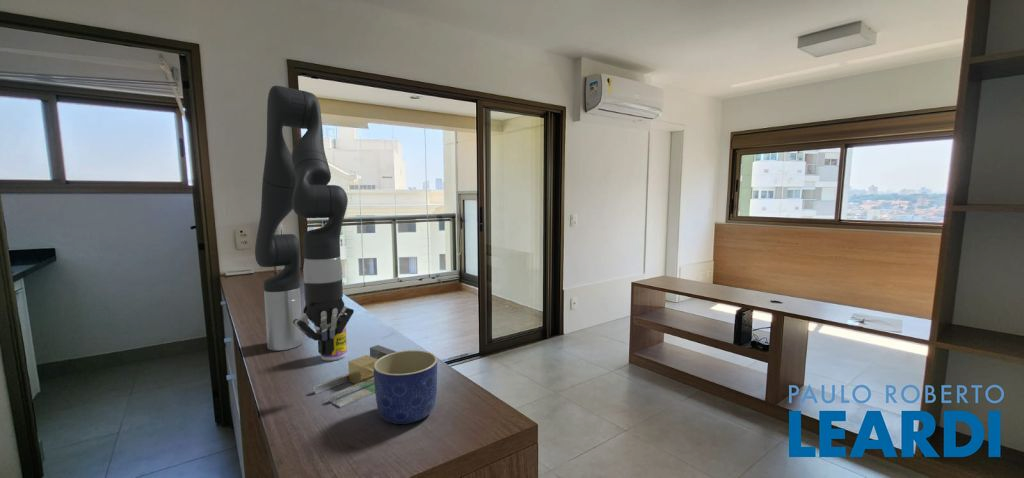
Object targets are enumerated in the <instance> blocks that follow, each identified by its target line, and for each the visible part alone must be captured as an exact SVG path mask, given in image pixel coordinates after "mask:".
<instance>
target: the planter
mask: <svg viewBox="0 0 1024 478" xmlns="http://www.w3.org/2000/svg"><path fill="white" fill-rule="evenodd" d="M373 368H374V382H375V392H374V393H375V402H376V406H377V407H376V408H377V410H378V414H379V415H380V417H381V418H382V419H384V421H387V422H388V423H391V424H396V425H406V424H412V423H415V422H418V421H421V420H423V419H424V418H426V417H427V416H428V415H430V414H431V412H432V411H433V410H434V408H435V404H436V401H437V392H438V391H437V390H438V389H437V388H438V358H437V356H436V355H435V354H434V353H431V352H430V351H429V352H428V351H425V350H416V349H414V350H413V349H411V350H410V349H409V350H401V351H400V350H399V351H396V352H395V353H391V354H388V355H385V356H383V357H381V358H379V359H378V360H377V361H376V362H375V363H374V366H373Z"/></svg>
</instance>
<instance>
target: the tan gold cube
mask: <svg viewBox="0 0 1024 478" xmlns="http://www.w3.org/2000/svg"><path fill="white" fill-rule="evenodd" d="M377 360H378V359H376V358H373V357H371V356H370V355H368V354H366V355H363V356H360V357H358V358H354V359H352V360H349V361H348V365H347V366H348V373H349V381H348V382H351V383H353V385H355V384H358V383H360V382H363V381H365V380H368V379H370V378H373V377H374V368H373V366H374V363H375V362H376V361H377Z"/></svg>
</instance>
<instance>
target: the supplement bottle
mask: <svg viewBox="0 0 1024 478" xmlns="http://www.w3.org/2000/svg"><path fill="white" fill-rule="evenodd" d="M338 317H339V316H338ZM337 319H338V318H337ZM347 340H348V339H347V325H346V326H345V328H344V329H343V331H342V333H340V334H337V335H336V336H335V337H334V351H333V352H332V355H330V356H327V357H324V356H322V355H321V354H320V358H321V360H323V361H330V362H331V361H338V360H340V359H341V360H342V359H344V358H345V357H346V356H347V354H348V346H347V345H348V342H347Z"/></svg>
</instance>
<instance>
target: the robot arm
mask: <svg viewBox="0 0 1024 478" xmlns="http://www.w3.org/2000/svg"><path fill="white" fill-rule="evenodd" d="M266 106H267V107H266V145H265V146H266V148H265V157H264V167H263V175H262V186H261V200H260V201H261V204H260V205H261V206H260V215H259V216H260V217H259V222H258V228H257V234H256V238H255V239H256V241H255V248H254V254H255V261H256V263H257V264H258V265H257V266H260V267H261V268H274V267H275V268H276V267H283V266H284V267H283V269H282V270H281V271H280V272H278V273H277V274H275V275H273V276H271V277H269V278H266V279H265V280H264V282H263V294H264V295H263V296H264V297H263V298H264V299H263V300H264V313H265V314H264V315H265V327H266V328H265V330H266V344H267V345H266V347H267V350H270V351H285V350H286V351H287V350H291V349H294V348H297V347H299V346H301V345H303V340H304V339H303V334H304V335H306V337H308V339H311V340H313V341H314V342H315V341H316V342H317V351H318V354H320V356H321V355H322V356H324V357H327V356H330V355H332V352H333V351H334V337H335V336H336V335H337V334H340V333H342V331H343V329H344V328H345V326H346V327H347V324H348V323H349V321H350V319H351V318H352V316H353V314H354V312H355V310H354V309H352V308H350V307H348V306H345V302H344V300H343V296H344V291H343V285H344V284H343V265H342V260H341V233H342V226H343V222H344V220H345V219H344V218H345V215H346V212H347V209H348V204H349V203H348V202H349V201H348V196H347V192H346V191H345V189H344V188H343V187H341V186H339V185H336V184H329V183H330V182H331V178H332V174H331V173H332V172H331V170H330V166H329V162H328V159H327V156H326V153H325V152H326V151H325V145H324V131H323V130H324V129H323V122H322V113H321V112H322V111H321V106H320V102H319V99H318V96H316V95H315V94H314V93H312V92H309V91H305V90H300V89H296V88H291V87H287V86H281V85H273V86H271V87H270V89H269V91H268V93H267V105H266ZM284 127H287V128H295V129H301V130H302V129H303V130H306V132H305V133H304V134H303V135H302V136H301V137H300V138H299V139H298V141H296V144H294V146H293V149H292V152H291V151H290V149H289V147H288V145H287V144H286V141H285V139H284V134H283V133H284V132H283V128H284ZM292 211H294V213H295V214H296V215H297V216H298V217H300V218H302V219H328V220H327V222H326V223H325V224H324V226H322V227H319V228H314V229H310V230H307V231H306V232H305V233H304V234H303V257H304V259H303V270H302V271H303V293H304V295H303V296H304V302H305V306H304V308H303V311H302V301H301V300H302V297H301V283H300V281H301V247H300V246H301V245H300V242H299V238H298V237H297V236H296V235H295V234H293V233H285V234H284V233H283V234H282V233H281V234H276V232H277V231H276V230H277V228H278V227H279V226H280V225H281V222H282V221H284V219H286V217H287V216H288V215H289V214H290V213H291V212H292ZM302 312H303V313H302ZM338 316H339V317H338ZM337 318H338V319H337ZM310 322H311V323H312V324H313V328H314V330H315V331H314V330H313V329H312V328H311V327H310V326H309V323H310Z"/></svg>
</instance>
